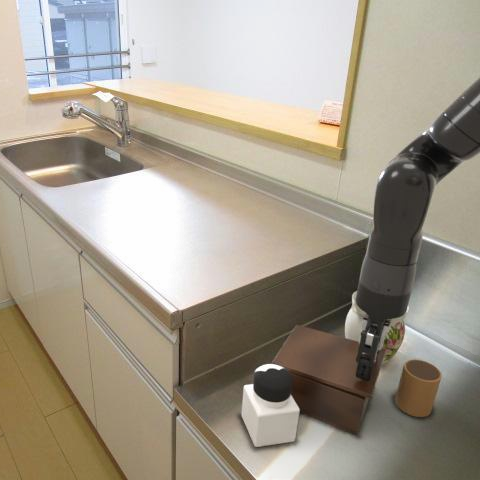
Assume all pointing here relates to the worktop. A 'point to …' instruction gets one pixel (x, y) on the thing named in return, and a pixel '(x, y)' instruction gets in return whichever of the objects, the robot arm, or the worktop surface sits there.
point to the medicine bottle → (270, 407)
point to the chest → (328, 403)
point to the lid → (327, 360)
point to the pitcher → (391, 338)
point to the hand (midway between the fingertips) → (367, 364)
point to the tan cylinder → (418, 387)
